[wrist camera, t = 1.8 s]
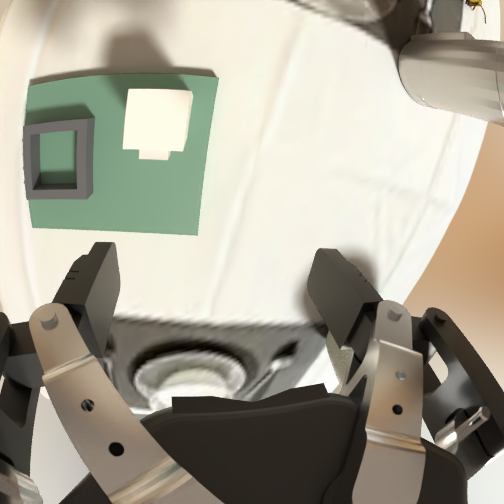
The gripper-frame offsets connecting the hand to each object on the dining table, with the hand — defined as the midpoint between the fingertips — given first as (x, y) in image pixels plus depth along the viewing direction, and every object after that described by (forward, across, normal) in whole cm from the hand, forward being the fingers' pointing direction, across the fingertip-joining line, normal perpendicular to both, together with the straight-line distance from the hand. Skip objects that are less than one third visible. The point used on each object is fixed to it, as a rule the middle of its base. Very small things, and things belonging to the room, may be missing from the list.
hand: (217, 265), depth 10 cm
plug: (+17, +4, -5) cm, 18 cm away
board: (+18, +10, -1) cm, 21 cm away
